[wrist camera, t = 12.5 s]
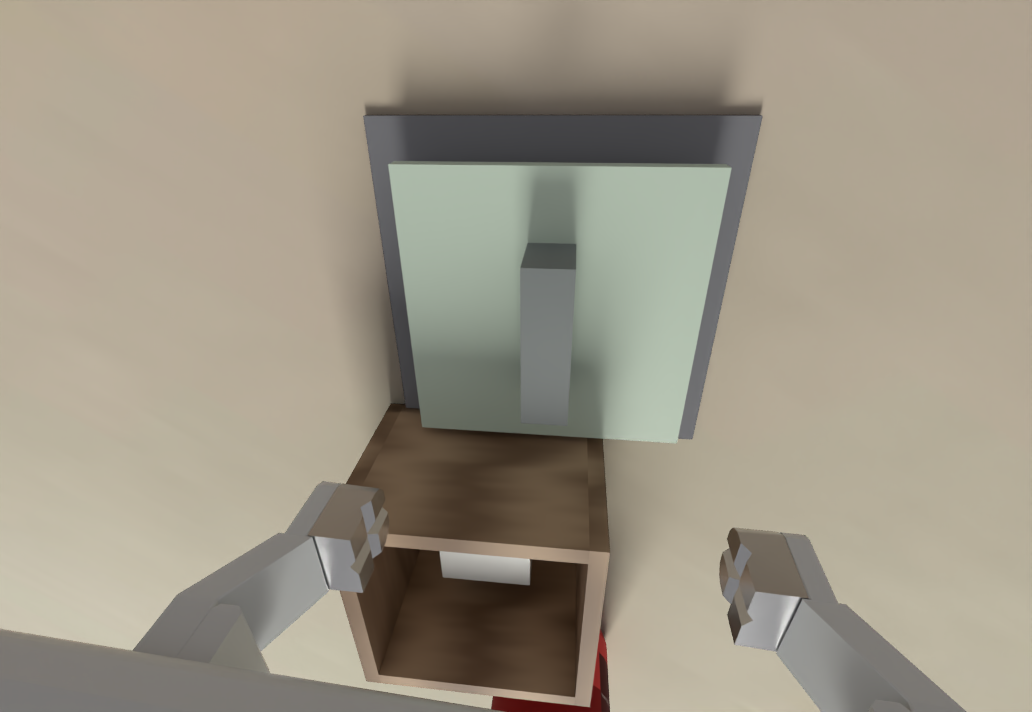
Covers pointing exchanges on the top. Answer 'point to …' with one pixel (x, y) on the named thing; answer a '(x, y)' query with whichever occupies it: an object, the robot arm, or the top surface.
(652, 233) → the lid
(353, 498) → the robot arm
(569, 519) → the crate
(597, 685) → the canned food
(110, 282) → the top surface
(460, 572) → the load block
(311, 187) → the top surface
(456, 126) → the dark grey flat plate
